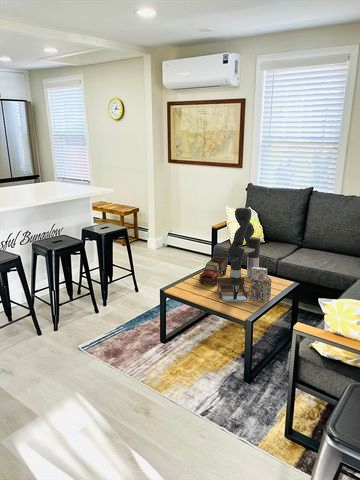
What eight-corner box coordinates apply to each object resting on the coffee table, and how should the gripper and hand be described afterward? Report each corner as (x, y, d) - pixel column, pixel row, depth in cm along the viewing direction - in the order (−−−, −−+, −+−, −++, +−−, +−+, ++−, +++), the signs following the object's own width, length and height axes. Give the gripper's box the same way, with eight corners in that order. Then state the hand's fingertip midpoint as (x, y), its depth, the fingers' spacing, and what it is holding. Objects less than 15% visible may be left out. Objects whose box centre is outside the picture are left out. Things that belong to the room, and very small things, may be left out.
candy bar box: (266, 288, 281) (267, 268, 276) (264, 291, 277) (265, 270, 272) (252, 286, 286) (253, 266, 281) (250, 288, 282) (251, 268, 277)
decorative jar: (265, 303, 257) (266, 278, 252) (249, 299, 263) (250, 275, 258) (271, 296, 267) (272, 273, 262) (255, 293, 273) (256, 270, 268)
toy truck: (197, 284, 290) (197, 266, 286) (214, 270, 321) (214, 253, 317) (214, 287, 284) (214, 269, 280) (230, 272, 315) (230, 255, 310)
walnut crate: (217, 289, 281) (217, 277, 278) (244, 289, 280) (244, 276, 278) (219, 298, 265) (219, 285, 262) (247, 298, 265) (248, 285, 262)
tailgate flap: (222, 296, 264) (223, 299, 254) (244, 295, 264) (247, 299, 254) (222, 297, 264) (223, 301, 255) (244, 297, 264) (247, 301, 254)
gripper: (229, 271, 258) (228, 295, 263) (231, 278, 245) (230, 303, 250) (239, 271, 258) (239, 295, 262) (242, 278, 245) (241, 303, 250)
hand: (235, 298), depth 256 cm, fingers closed
